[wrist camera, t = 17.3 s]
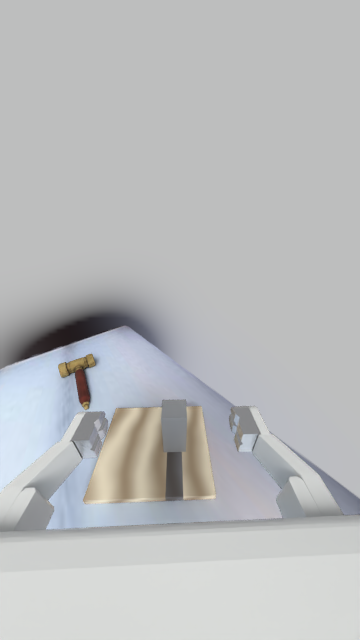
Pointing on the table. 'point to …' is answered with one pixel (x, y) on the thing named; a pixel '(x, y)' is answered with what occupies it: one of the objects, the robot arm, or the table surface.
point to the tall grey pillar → (174, 425)
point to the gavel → (79, 376)
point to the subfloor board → (151, 461)
